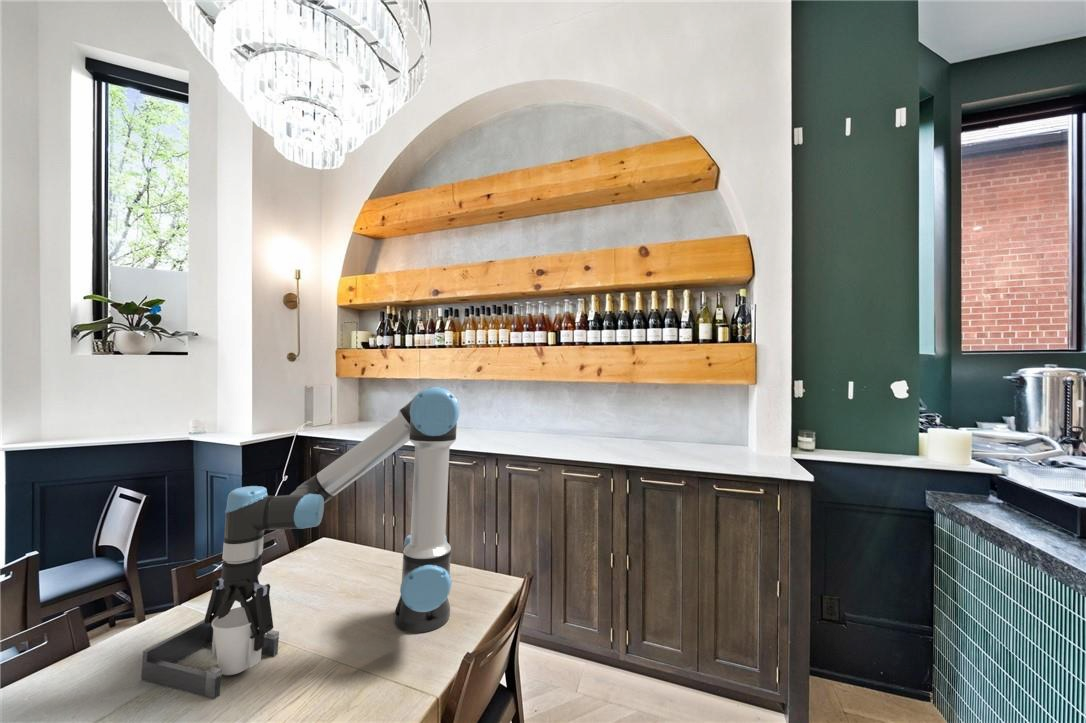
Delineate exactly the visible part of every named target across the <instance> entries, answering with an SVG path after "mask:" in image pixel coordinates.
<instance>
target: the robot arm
mask: <svg viewBox="0 0 1086 723" xmlns="http://www.w3.org/2000/svg"><path fill="white" fill-rule="evenodd" d="M397 412H398V413H397V416H395V417H394V418H393V419H391V420H389V421H388V422H387V423H385V424H384V425H383V426H381V427H380V428H379V429H377V430H376V431H374V432H373V433H371V435H370V434H369V436H367V437H366V438H365V439H363V440H362V441H360V442H359V443H357V444H356V445H355V446H353V447H352V448H350V449H349V450H348V451H347V452H345V453H344V454H342V455H341V456H340V457H338V458H336V460H334V461H333V462H331V463H330V464H328V465H327V466H326V467H324V468H323V469H322V470H320V471H319V472H317V473H316V474H315V475H314V476H311V477H310V478H309V479H308V480H306V481H304V482H303V483H301V484H300V485H298V486H297V487H296V489H295V490H293V491H292V492H291V493H290V494H287V495H286V494H285V495H268V491H267V490H268V489H267V487H264V486H258V485H250V486H242V487H237V488H234V489H233V490H231V491H230V492H229V493H228V495H227V500H226V508H225V511H224V513H225V517H224V519H225V521H224V537H223V546H222V560H223V561H222V563H221V575H220V576H221V577H219V578H217V579H215V580H213V581H212V583H211V587H212V588H211V591H212V592H211V594H210V598H209V602H208V605H207V608H206V612H205V616H204V619H205V620H204V619H203V620H204V622H205V624H208V623H209V624H210V627H211V628H212V636H211V640H212V643H211V644H212V645H211V658H210V659H211V660H212V661H214V660H217V654H216V645H215V639H214V631H213V627H212V625H211V624H212V621H213V620H214V619H215V618H216V617H217V616H218V619H221V618H223V617H225V616H226V615H227V614H228V613H229V612H230V610H231V609H233V608H232V607H233V606H234V603H235V601H236V602H237V603H239V604H240V607H243V608H244V609H245V612H246V615H247V619H248V622H249V623H251V625H250V628H251V631H252V634H253V635H251V636H250V637H249V648H248V663H247V669H251V668H252V667H254V666H255V665H257V664H259V663H260V662H261V661H262V654H261V651H262V648H263V646H264V634H267V632H269V631H270V630H273V629H274V621H273V615H272V614H273V613H272V607H271V606H272V605H271V598H270V592H271V591H270V590H271V584H269V583H265V585H264V584H260V581H259V576H260V573H261V572H262V569H263V555H262V553H263V552H264V539H265V538H264V537H265V536H264V535H265V531H273V530H277V531H278V530H292V529H293V530H294V529H295V530H296V529H297V530H298V529H300V530H301V529H302V530H304V529H307V528H308V529H309V528H315V527H318V526H320V524H321V522H322V520H323V517H324V511H325V504H326V503H327V502H328V501H330V500H331V499H332V498H334V497H336V496H337V494H339V493H341V492H342V491H343V490H344V489H346V488H348V487H349V486H350V485H351V484H352V483H354V482H355V481H357V480H358V479H359V478H360V477H362V476H363V475H365V474H366V473H367V472H369V471H370V470H371V469H373V468H374V467H375V466H377V465H378V464H379V463H381V462H383V461H384V460H385V459H386V458H388V457H389V456H391V455H392V454H393V453H395V452H396V451H397V450H398V449H400V448H402V446H404V445H405V444H407V443H408V442H409V441H410V442H411V444H412V445H414V461H413V462H414V463H413V464H414V465H413V481H412V501H411V518H410V521H411V522H410V534H408V535H407V536H406V537H405V538H404V544H403V552H402V553H403V555H402V568H401V569H402V570H401V572H402V573H401V584H400V588H399V593H400V596H399V599H398V602H397V605H396V607H395V608H394V614H393V616H394V617H393V623H394V626H395V628H397V629H398V630H401V631H402V632H405V633H410V634H411V633H413V634H419V633H427V632H431V631H434V630H437V629H439V628H440V627H443V626H444V625H446V623H447V622H448V621H449V620H450V618H449V617H451V604H450V601H449V598H448V597H449V595H450V592H451V588H452V577H451V554H452V553H451V552H452V551H451V550H452V547H451V545H450V543H448V540H447V539H448V538H447V534H446V531H447V530H446V529H447V512H448V511H447V508H448V507H447V506H448V491H449V490H448V488H449V487H448V486H449V469H450V468H449V467H450V466H449V465H450V447H451V445H453V444H454V442H456V441H457V426H458V425H457V424H458V420H459V417H460V405H459V402H458V400H457V397H456V396H455V395H454V394H453V393H452V391H449V390H448V389H446V388H444V387H442V386H441V387H440V386H429V387H425V388H424V389H421V390H420V391H418V392H417V394H416V395H415V396H414V397H413V398H412V399H411V400H410V401H409V402H408V403H407V404H405V406H403V407H402V408H400V409H399V410H398V411H397ZM258 627H259V629H258Z"/></svg>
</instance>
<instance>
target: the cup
mask: <svg viewBox="0 0 1086 723" xmlns="http://www.w3.org/2000/svg"><path fill="white" fill-rule="evenodd" d="M211 625H212V627H213V631H214V639H215V645H216V654H217V658H216V660H217V661H216V662H217V668H219V669H222V670H221V675H223V676H233V675H237V674H239V673H240V674H241V673H242V672H244V671H245V670H247V669H248V668H247V663H248V648H249V637H250V636H251V635H253V634H252V631H251V628H250V625H251V623H249V622H248V619H247V615H246V612H245V609H244V608H243V607H241V606H238V607H234V608H231V610H230V612H229V613H228V614H227V615H226V616H225V617H223V618H221V619H218V616H217V617H216V618H215V619H214V620H213V621H212V624H211ZM258 629H259V627H258Z"/></svg>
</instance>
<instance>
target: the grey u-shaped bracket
mask: <svg viewBox="0 0 1086 723" xmlns="http://www.w3.org/2000/svg"><path fill="white" fill-rule="evenodd" d="M204 620H205V618H204V619H202V620H200V621H199V622H197V623H195V624H193V625H191V626H189V627H187V628H185V629H183V630H181V631H179V632H178V633H175V634H174V635H171V636H170V637H168V638H165V639H164V640H162V641H159V642H158V643H156V644H154V645H152V646H149V648H146V649H145V650H143V651H142V660H141V674H140V681H143V682H147V683H149V684H150V683H151V684H154V685H159V686H161V687H166V688H170V689H175V690H178V691H181V692H185V693H188V694H192V695H196V696H199V697H200V696H201V697H204V698H207V699H211V700H215V699H217V698H219V697H220V695H221V685H222V684H221V683H222V682H221V681H222V674H221V670H222V669H219V668H218V667H215V666H212V667H210V668H208V669H207V670H202V669H198V668H193V667H190V666H185V665H182V664H177V663H179V662H180V661H182V660H184V659H186V658H188V657H190V656H191V655H193V654H194V653H196V652H198V651H199V650H202V649H203V648H204V647H207V646H208V645H210V644H212V640H211V636H212V628H211V627H210V624H209V623H208V624H205V622H204ZM279 636H280V631H278V630H273V629H272V630H270V631H269V632H267V633H265V634H264V646H263V648H262V651H261V656H267V657H272V658H274V657H275V656H278V653H279V641H280V639H279V638H280V637H279Z"/></svg>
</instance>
